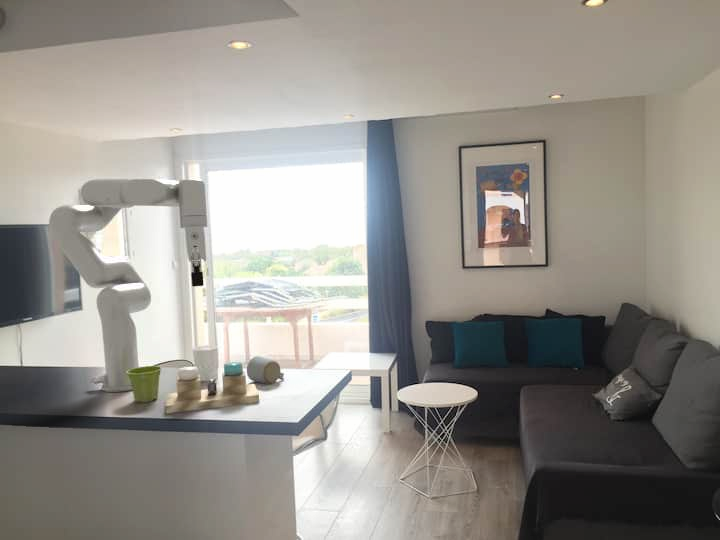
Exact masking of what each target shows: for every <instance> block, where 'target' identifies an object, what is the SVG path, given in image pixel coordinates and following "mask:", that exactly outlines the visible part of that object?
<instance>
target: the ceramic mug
mask: <svg viewBox="0 0 720 540" xmlns="http://www.w3.org/2000/svg"><path fill="white" fill-rule="evenodd" d="M284 375H285V373H283V372H281V366H280V364H279V363H278V361H276V360H273V359H270V358H266V357H264V356H260V355H256V356H253V357H252V358H251V359H250V360H249V362H248V364H247V367H246V376H247V377H248V379H249V380H251V381H252V382H257V383H261V384H262V383H263V384H268V385H269V384H270V385H271V384H274V383H275V382H277V381H278V379H279V377H280V379H283V378H284Z"/></svg>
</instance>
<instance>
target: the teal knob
mask: <svg viewBox="0 0 720 540" xmlns="http://www.w3.org/2000/svg"><path fill="white" fill-rule="evenodd" d="M243 370H244V369H243V362H242V361H240V362H239V361H231V362H227V363H224V364H223V373H224V374H225V375H229V376H233V375H238V374H241V373H243Z"/></svg>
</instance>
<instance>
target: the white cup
mask: <svg viewBox="0 0 720 540" xmlns="http://www.w3.org/2000/svg"><path fill="white" fill-rule="evenodd" d="M192 357H193V365H194V366H193V367H197V369H198V375H200V382H209V380H210V379H214V380H217V379H219V347H218V346H217V345H214V344H213V345H212V344H208V345H200V346H195V347H193V348H192Z"/></svg>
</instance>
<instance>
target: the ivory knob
mask: <svg viewBox="0 0 720 540" xmlns="http://www.w3.org/2000/svg"><path fill="white" fill-rule="evenodd" d="M177 374H178V377H179V380H184V381H187V380H193V379H196V378H198V369H197V367H194V366H185V367H181V368H178V373H177Z"/></svg>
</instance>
